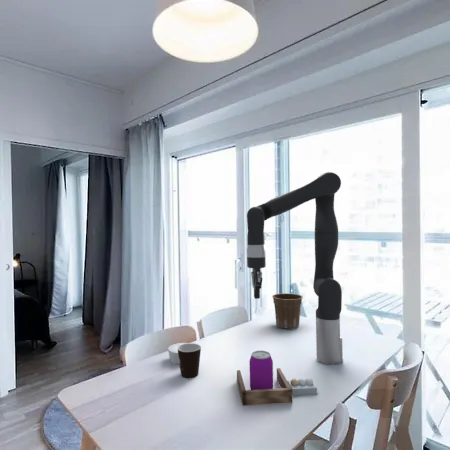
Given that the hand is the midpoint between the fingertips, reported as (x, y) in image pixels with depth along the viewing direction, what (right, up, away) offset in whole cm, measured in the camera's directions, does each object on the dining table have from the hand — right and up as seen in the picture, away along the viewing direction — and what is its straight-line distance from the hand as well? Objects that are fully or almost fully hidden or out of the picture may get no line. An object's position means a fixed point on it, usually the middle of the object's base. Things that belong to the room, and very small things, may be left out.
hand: (256, 298), depth 133 cm
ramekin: (-31, -26, +1) cm, 40 cm away
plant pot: (+21, -25, +44) cm, 54 cm away
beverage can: (-1, -25, -25) cm, 36 cm away
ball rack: (+12, -25, -25) cm, 37 cm away
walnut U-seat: (-1, -25, -25) cm, 35 cm away
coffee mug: (-26, -26, -11) cm, 38 cm away
